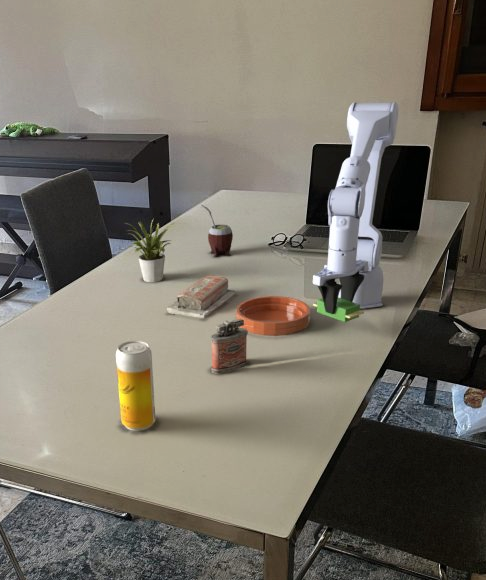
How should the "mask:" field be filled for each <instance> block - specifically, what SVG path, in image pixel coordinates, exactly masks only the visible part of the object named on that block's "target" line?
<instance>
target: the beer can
mask: <svg viewBox="0 0 486 580" xmlns="http://www.w3.org/2000/svg"><path fill="white" fill-rule="evenodd" d="M152 355H153V353H152V349H151V348H150V345H149V344H148V343H147V342H145V341H141V340H130V341H125V342H122V343H120V344H119V345H118V346H117V350H116V352H115V362H116V373H117V384H118V385H117V387H118V397H119V407H120V408H119V410H120V421H121V424H122V425H123V426H124V427H125V428H126V429H128V430H130V431H134V432H140V431H145V430H148V429H150V428H151V427H152V426H153V424H154V423H155V422H156V405H155V403H156V402H155V388H154V371H153V370H154V369H153V356H152Z"/></svg>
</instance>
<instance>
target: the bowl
mask: <svg viewBox="0 0 486 580" xmlns="http://www.w3.org/2000/svg"><path fill="white" fill-rule="evenodd" d="M235 313H236V315H235V320H237V319H240V318H242V319H243V320H244V326H240V327H239V328H245V329H247V330H248V333H250V334H251V333H252V334H255V335H261V336H285V335H291V334H295V333H298V332H300V331H303V330H305V329H306V328H307V327H308V326H309V324H310V322H311V307H310V305H309V304H308V303H306V302H305V301H302V300H300V299H297V298H294V297H289V296H288V297H287V296H279V295H268V296H258V297H253V298H249V299H247V300H244V301H243V302H241V303H239V304H238V305H237V306H236V309H235Z"/></svg>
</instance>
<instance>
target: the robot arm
mask: <svg viewBox="0 0 486 580" xmlns="http://www.w3.org/2000/svg"><path fill="white" fill-rule="evenodd" d="M399 110H400V109H399V104H398V103H397V102H396V101H392V102H357V101H354V102H352V103H351V105H349V107H348V112H347V118H346V129H347V131H348V136H349V139H350V142H351V144H352V145H351V150H350V154H349V155H350V156H349V157H347V158H345V160H344V161H343V162H342V164H341V167H340V171H339V175H338V178H337V181H336V185H335V188H334V189H331V190H330V192H329V195H328V200H327V215H328V221H327V222H328V226H329V235H328V249H327V250H328V251H327V263H325V264H324V268H323V269H322V270H320V271H319V272H318V273H315V274H313V275H312V284H313V285H315V286H316V287H317V288H318V290H319V292H320V294H321V295H320V296H321V297H322V298H323V302H324V307H325V312H327V313H330V314H334V313H335V310H336V305H337V299H338V297H339V298H342V299H345V300H347V301H350V302H353V303H356V304H359V305H360V310H362V309H363V310H364V309H371V308H377V307H379V308H380V307H383V303H382V298H383V289H384V273H383V272H384V271H383V269H382V267H381V266H380V263H381V259H382V252H383V239H384V238H383V234H382V232H381V231H380V229H378V228H377V227H376V226H374V224H373V218H374V212H375V205H376V199H377V198H376V197H377V191H378V184H379V177H380V170H381V164H382V157H383V154H384V153H385V149H386V148H387V147H389V146H391V145H393V144H394V142H395V141H394V140H395V139H396V133H397V127H398V121H399ZM367 238H371V239H367ZM337 279H338V280H339V283H337V281H336V280H337ZM322 298H321V299H322Z"/></svg>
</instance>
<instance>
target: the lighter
mask: <svg viewBox="0 0 486 580" xmlns="http://www.w3.org/2000/svg"><path fill="white" fill-rule="evenodd" d="M240 326H244V320H243V319H242V318H240V319H237V320H236V319H233V320H231V321H229V320H224V321H223V322H222V323H221V324H217V325H215V328H216V329H215V330H216V333H214V334H212V335H211V336H210V342H211V367H210V368H211V369H210V370H211V373H212V374H216V375H220V374H225V373H230V372H234V371H237V370H240V369H243V368H245V367H247V365H246V364H247V363H248V360H247V338H248V337H247V336H248V333H249V332H248V330H247V329H245V328H240Z"/></svg>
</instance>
